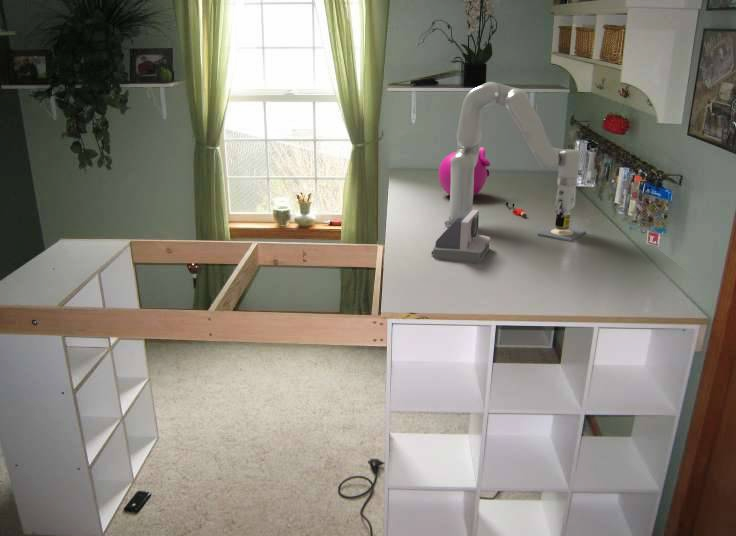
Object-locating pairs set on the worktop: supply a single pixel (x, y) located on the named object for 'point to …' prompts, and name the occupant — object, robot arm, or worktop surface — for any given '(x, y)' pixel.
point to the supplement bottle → (565, 221)
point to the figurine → (479, 172)
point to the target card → (561, 233)
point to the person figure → (517, 210)
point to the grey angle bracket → (462, 240)
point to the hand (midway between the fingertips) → (562, 224)
